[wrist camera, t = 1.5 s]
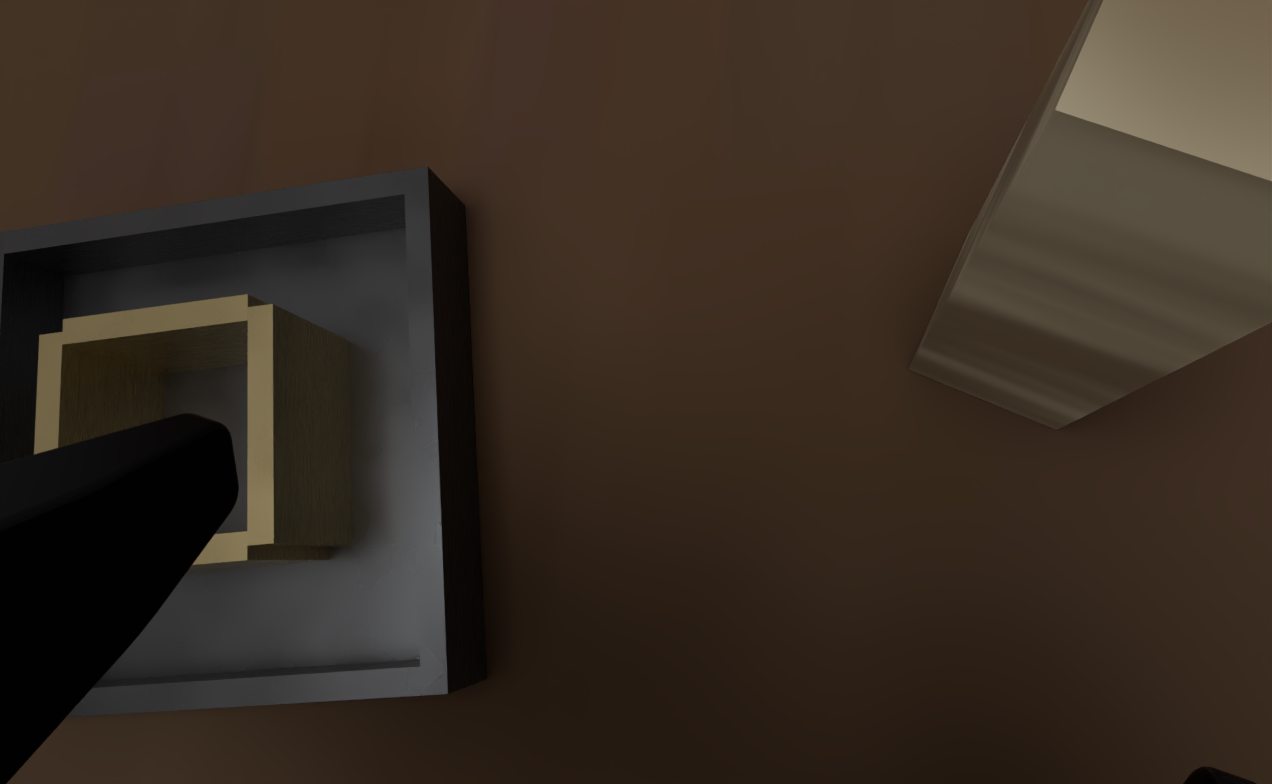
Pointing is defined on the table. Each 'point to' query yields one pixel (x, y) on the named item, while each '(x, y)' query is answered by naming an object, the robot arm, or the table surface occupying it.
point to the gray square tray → (276, 428)
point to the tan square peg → (1120, 215)
